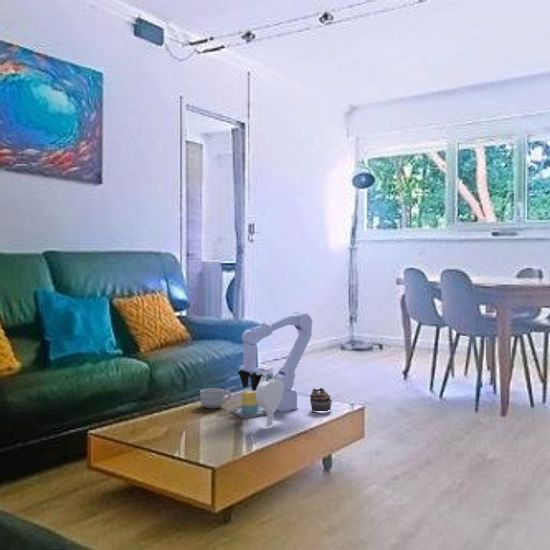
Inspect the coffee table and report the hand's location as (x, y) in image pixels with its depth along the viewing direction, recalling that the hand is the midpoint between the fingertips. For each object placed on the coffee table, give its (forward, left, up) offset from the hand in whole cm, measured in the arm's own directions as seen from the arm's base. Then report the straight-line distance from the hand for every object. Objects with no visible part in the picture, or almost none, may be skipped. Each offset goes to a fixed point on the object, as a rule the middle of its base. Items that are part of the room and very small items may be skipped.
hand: (249, 388), depth 269 cm
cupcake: (-27, +15, -11) cm, 33 cm away
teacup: (+9, -16, -11) cm, 21 cm away
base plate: (+2, +2, -10) cm, 11 cm away
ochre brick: (+2, +2, -6) cm, 7 cm away
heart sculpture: (+4, +21, -11) cm, 24 cm away
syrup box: (-21, -21, -11) cm, 31 cm away
